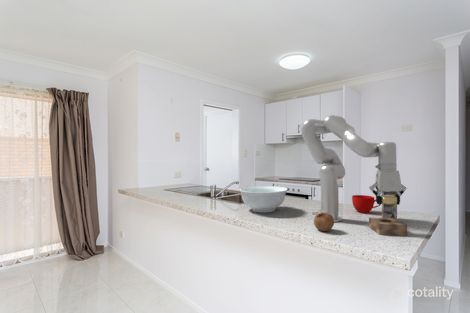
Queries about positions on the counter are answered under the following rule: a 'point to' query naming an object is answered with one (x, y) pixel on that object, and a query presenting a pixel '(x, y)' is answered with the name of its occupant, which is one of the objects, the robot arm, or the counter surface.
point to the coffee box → (393, 207)
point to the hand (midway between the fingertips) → (387, 203)
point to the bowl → (263, 197)
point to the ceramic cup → (363, 203)
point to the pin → (388, 203)
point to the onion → (323, 221)
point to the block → (388, 226)
